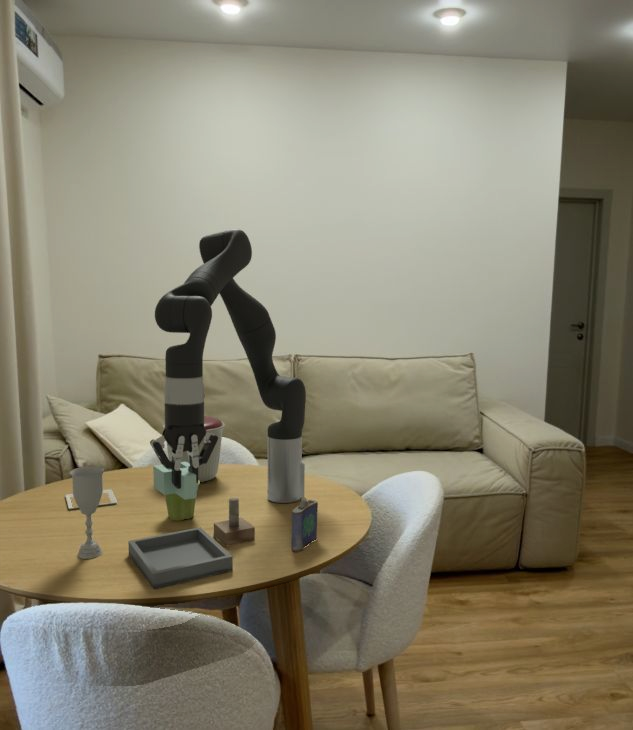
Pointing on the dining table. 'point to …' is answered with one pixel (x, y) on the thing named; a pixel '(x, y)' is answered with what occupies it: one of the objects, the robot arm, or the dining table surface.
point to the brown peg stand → (234, 527)
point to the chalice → (88, 503)
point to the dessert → (113, 501)
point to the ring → (166, 487)
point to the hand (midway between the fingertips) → (185, 486)
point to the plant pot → (180, 506)
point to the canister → (211, 467)
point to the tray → (179, 557)
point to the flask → (304, 524)
